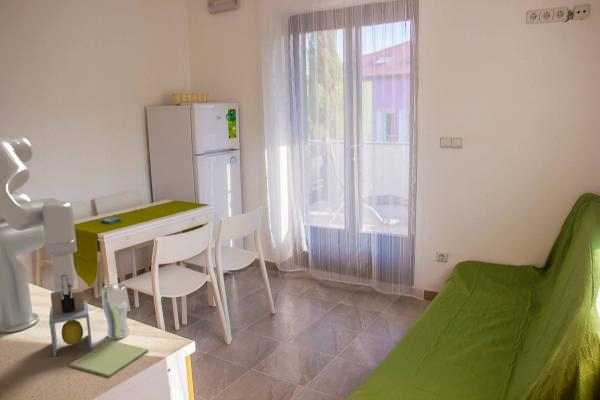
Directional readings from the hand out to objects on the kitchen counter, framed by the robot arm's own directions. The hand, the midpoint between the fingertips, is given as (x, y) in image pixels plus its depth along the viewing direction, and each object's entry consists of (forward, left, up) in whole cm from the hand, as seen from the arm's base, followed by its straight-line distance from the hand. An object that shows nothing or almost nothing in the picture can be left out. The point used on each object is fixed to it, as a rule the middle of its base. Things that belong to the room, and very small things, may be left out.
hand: (68, 308), depth 137 cm
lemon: (0, 0, -11) cm, 11 cm away
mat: (+16, -2, -11) cm, 19 cm away
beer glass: (+7, +10, -11) cm, 17 cm away
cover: (0, 0, -11) cm, 11 cm away
